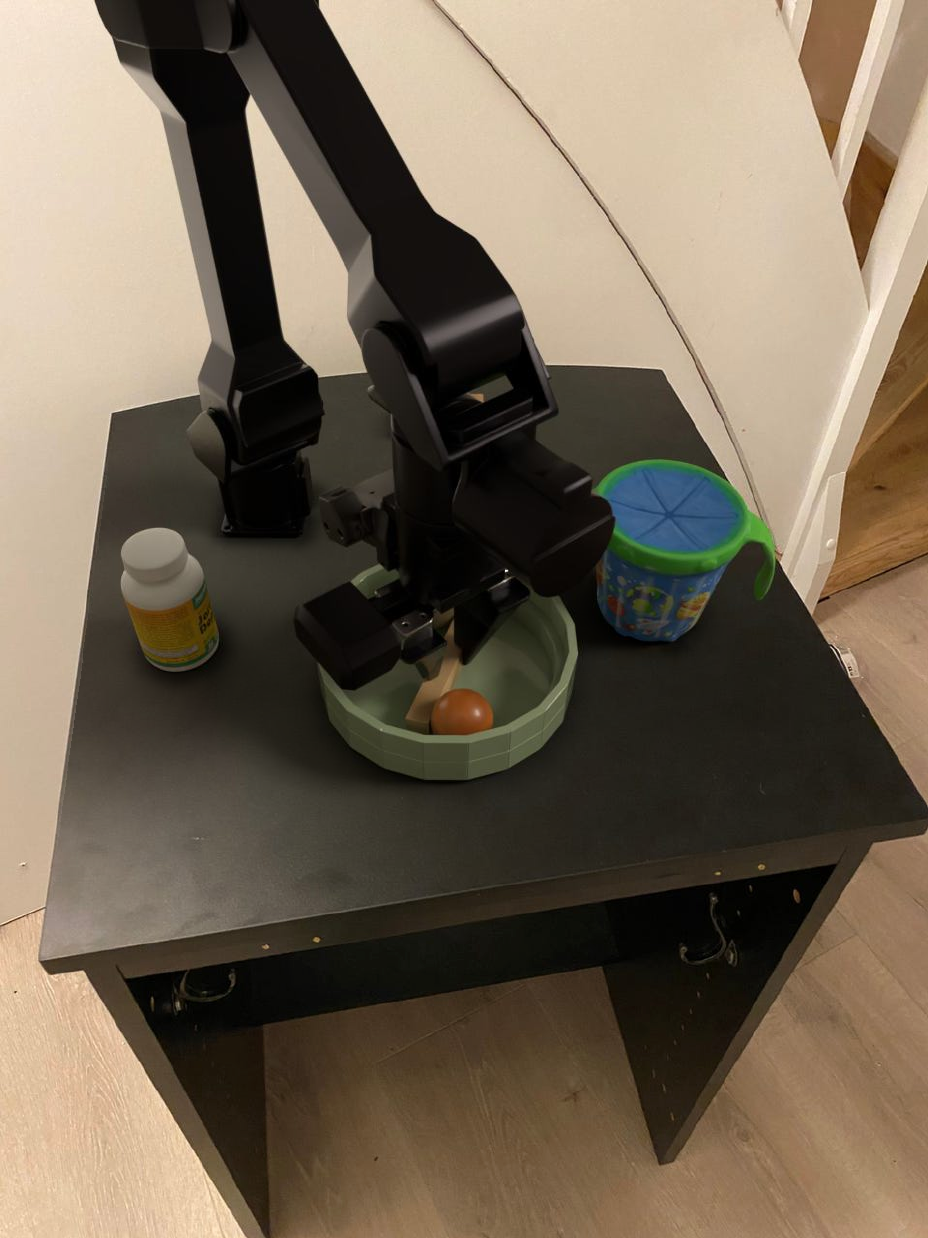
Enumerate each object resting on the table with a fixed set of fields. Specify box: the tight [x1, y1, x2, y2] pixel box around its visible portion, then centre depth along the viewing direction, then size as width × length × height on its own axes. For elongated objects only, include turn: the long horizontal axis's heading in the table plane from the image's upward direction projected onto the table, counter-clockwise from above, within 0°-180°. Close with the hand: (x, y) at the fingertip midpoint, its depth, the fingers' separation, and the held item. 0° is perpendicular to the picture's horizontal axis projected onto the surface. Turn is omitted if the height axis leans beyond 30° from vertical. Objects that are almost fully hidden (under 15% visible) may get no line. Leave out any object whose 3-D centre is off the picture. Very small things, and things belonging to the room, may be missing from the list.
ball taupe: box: [433, 608, 454, 629], centre depth 67 cm, size 4×4×4 cm
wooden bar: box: [405, 619, 464, 735], centre depth 64 cm, size 12×2×2 cm, turn 161°
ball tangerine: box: [431, 688, 493, 735], centre depth 60 cm, size 4×4×4 cm
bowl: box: [315, 563, 579, 781], centre depth 64 cm, size 17×17×4 cm
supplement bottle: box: [120, 527, 220, 673], centre depth 64 cm, size 5×5×10 cm
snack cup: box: [592, 459, 776, 643], centre depth 67 cm, size 16×10×10 cm
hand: (445, 670), depth 65 cm, fingers closed on wooden bar, 3 cm apart
